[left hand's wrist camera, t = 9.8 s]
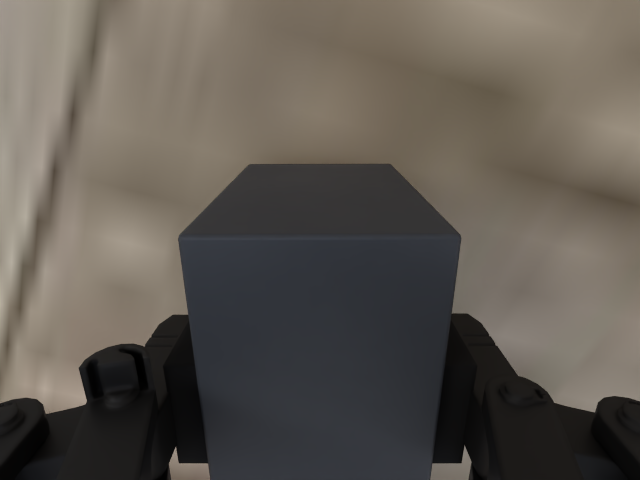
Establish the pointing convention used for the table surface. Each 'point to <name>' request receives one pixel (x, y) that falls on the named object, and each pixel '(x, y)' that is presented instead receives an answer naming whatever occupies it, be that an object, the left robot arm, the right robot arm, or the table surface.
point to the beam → (319, 323)
